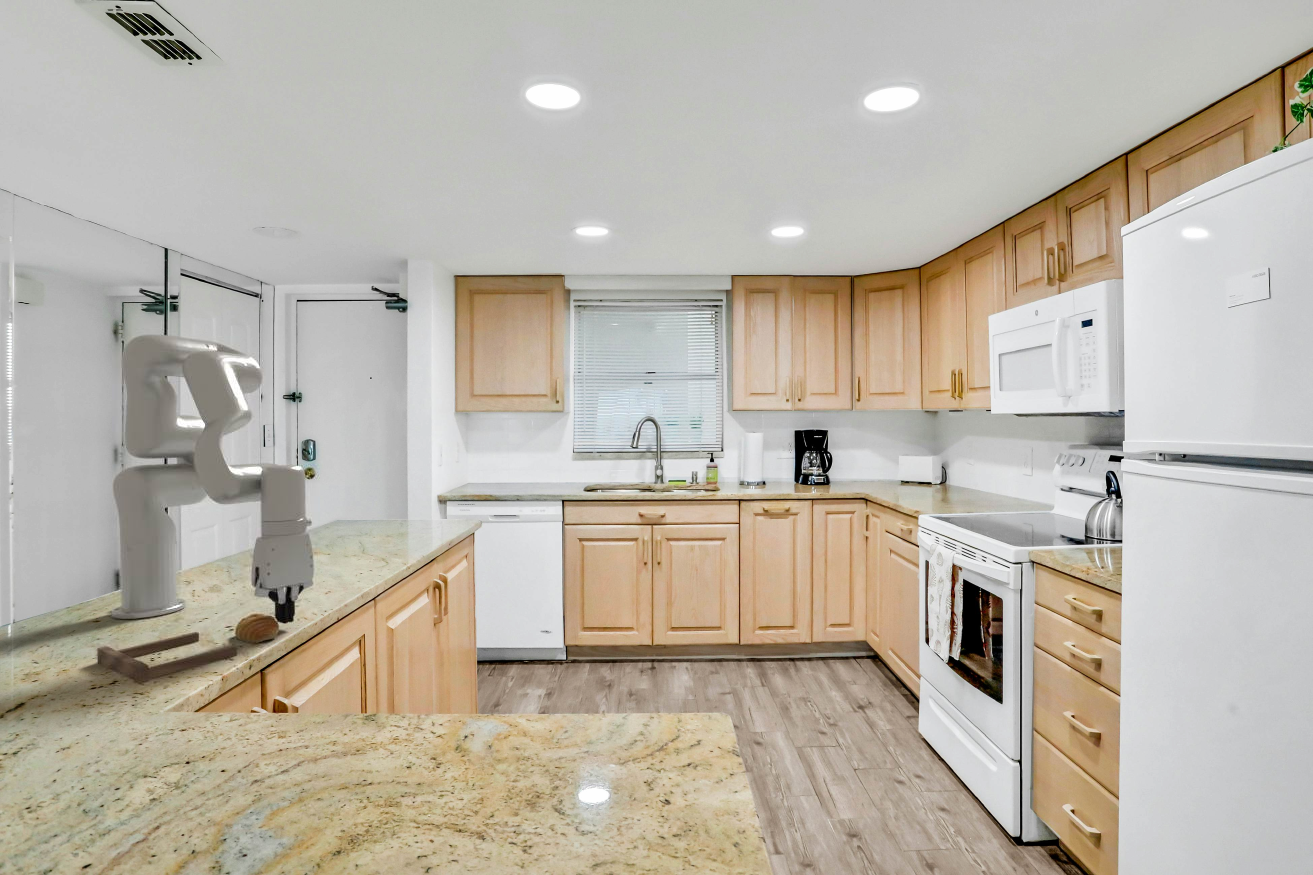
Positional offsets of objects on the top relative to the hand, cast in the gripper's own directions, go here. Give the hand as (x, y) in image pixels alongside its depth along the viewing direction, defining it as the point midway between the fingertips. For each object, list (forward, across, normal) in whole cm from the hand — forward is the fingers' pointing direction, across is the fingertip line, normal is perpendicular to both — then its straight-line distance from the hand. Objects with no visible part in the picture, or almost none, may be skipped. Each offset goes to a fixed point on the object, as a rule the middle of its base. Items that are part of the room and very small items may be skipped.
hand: (285, 621), depth 126 cm
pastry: (+2, +5, 0) cm, 5 cm away
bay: (+2, +19, 0) cm, 19 cm away
